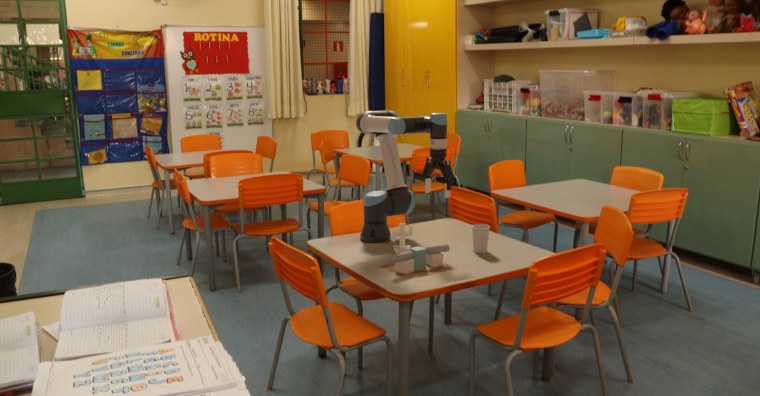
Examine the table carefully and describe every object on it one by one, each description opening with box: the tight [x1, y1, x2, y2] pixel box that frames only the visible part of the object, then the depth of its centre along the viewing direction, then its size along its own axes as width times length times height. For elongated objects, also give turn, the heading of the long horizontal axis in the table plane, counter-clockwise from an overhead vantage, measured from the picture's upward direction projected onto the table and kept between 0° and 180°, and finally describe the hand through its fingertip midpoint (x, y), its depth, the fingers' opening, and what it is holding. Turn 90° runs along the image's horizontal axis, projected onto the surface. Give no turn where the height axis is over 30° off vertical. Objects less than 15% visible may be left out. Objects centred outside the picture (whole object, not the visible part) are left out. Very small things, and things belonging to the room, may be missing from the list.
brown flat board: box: [375, 261, 457, 280], centre depth 262 cm, size 22×26×1 cm
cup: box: [471, 223, 491, 254], centre depth 286 cm, size 8×8×12 cm
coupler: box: [409, 246, 426, 270], centre depth 260 cm, size 5×5×8 cm
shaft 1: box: [390, 251, 414, 274], centre depth 254 cm, size 10×6×8 cm, turn 135°
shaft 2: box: [425, 244, 450, 267], centre depth 264 cm, size 10×6×8 cm, turn 115°
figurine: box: [391, 222, 414, 255], centre depth 280 cm, size 7×9×15 cm
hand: (437, 194), depth 281 cm, fingers open, 13 cm apart
